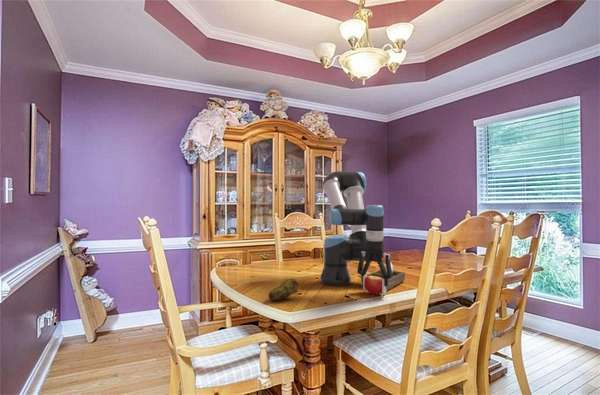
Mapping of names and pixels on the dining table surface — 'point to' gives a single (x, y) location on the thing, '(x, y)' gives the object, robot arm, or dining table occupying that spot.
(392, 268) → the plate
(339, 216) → the robot arm
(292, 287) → the avocado
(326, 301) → the dining table surface
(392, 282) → the wooden tray
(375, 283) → the apple
